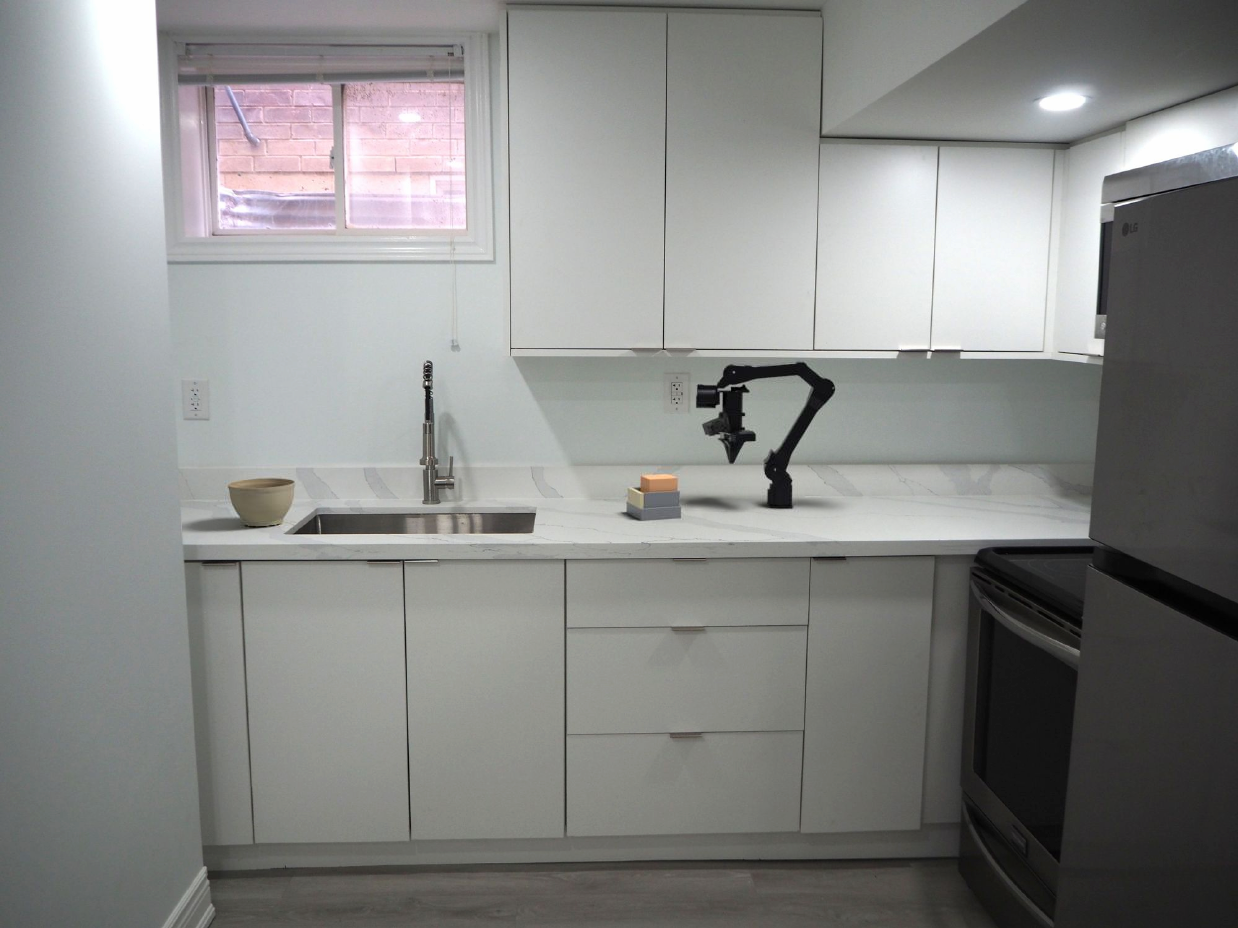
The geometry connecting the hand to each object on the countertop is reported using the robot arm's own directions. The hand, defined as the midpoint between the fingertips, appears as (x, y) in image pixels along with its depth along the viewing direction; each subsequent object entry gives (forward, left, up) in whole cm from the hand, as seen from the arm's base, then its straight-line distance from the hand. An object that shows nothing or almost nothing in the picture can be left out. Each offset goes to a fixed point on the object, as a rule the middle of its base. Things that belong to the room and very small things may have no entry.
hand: (731, 463), depth 264 cm
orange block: (+19, +16, -9) cm, 26 cm away
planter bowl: (+120, +39, -12) cm, 127 cm away
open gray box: (+20, +16, -12) cm, 29 cm away
